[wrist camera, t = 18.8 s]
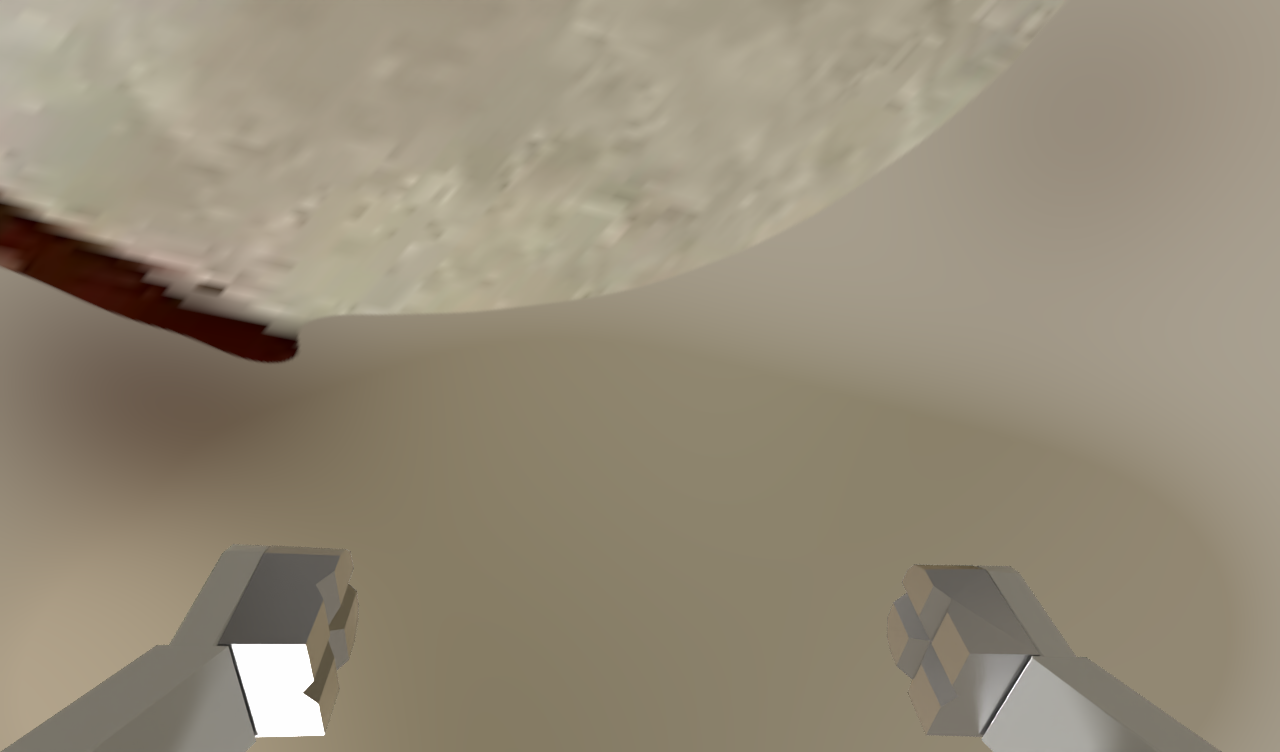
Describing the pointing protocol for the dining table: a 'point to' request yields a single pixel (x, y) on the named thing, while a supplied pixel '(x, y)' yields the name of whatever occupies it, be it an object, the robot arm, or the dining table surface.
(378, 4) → the dining table surface
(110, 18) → the dining table surface
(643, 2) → the dining table surface
